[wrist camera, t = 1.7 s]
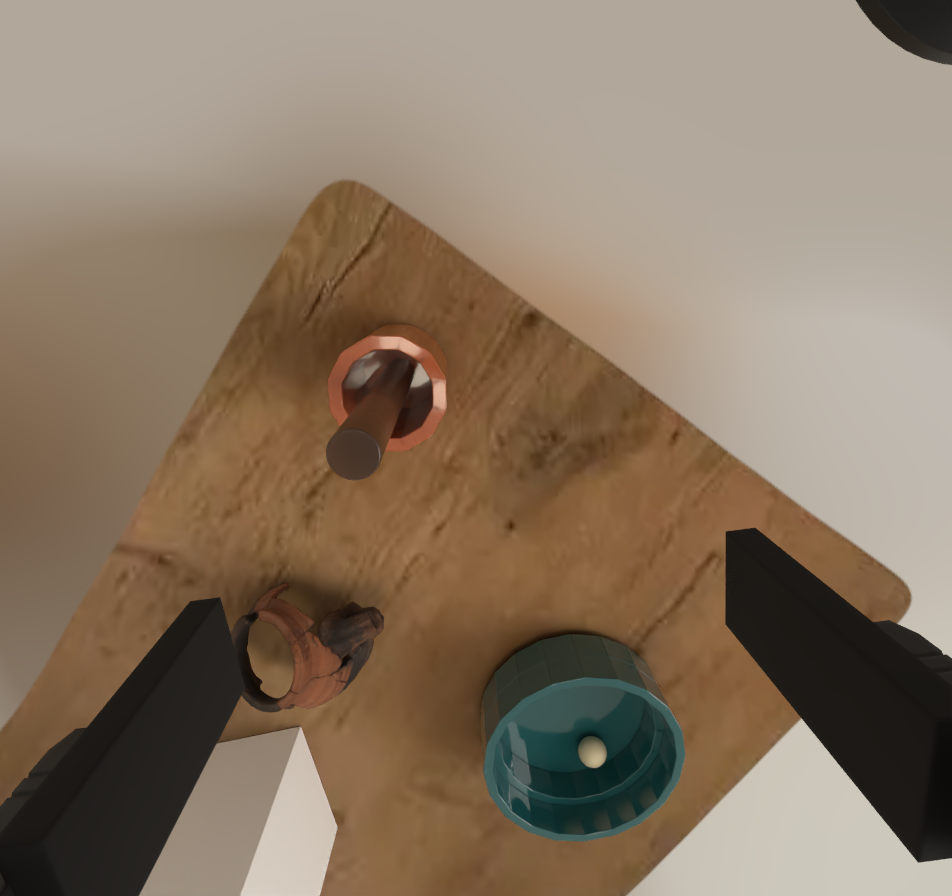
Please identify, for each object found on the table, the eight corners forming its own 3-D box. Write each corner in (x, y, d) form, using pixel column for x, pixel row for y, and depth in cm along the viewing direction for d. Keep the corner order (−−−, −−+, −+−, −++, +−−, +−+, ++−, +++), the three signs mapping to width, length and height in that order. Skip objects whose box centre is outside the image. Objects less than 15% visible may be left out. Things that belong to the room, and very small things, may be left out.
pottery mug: (324, 697, 48) (247, 745, 41) (280, 595, 50) (199, 623, 43) (430, 645, 44) (366, 689, 36) (378, 535, 46) (307, 555, 38)
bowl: (609, 599, 46) (631, 643, 41) (685, 730, 50) (716, 788, 45) (447, 683, 48) (446, 738, 42) (533, 804, 52) (543, 869, 46)
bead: (595, 725, 49) (602, 747, 47) (607, 744, 50) (614, 766, 47) (570, 737, 49) (576, 759, 47) (583, 756, 50) (589, 779, 48)
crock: (416, 306, 39) (406, 312, 31) (464, 387, 41) (467, 415, 32) (336, 354, 40) (304, 374, 31) (386, 432, 42) (370, 471, 33)
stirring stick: (404, 352, 40) (361, 418, 20) (419, 377, 40) (391, 464, 21) (380, 367, 40) (314, 446, 21) (395, 391, 40) (345, 490, 21)
